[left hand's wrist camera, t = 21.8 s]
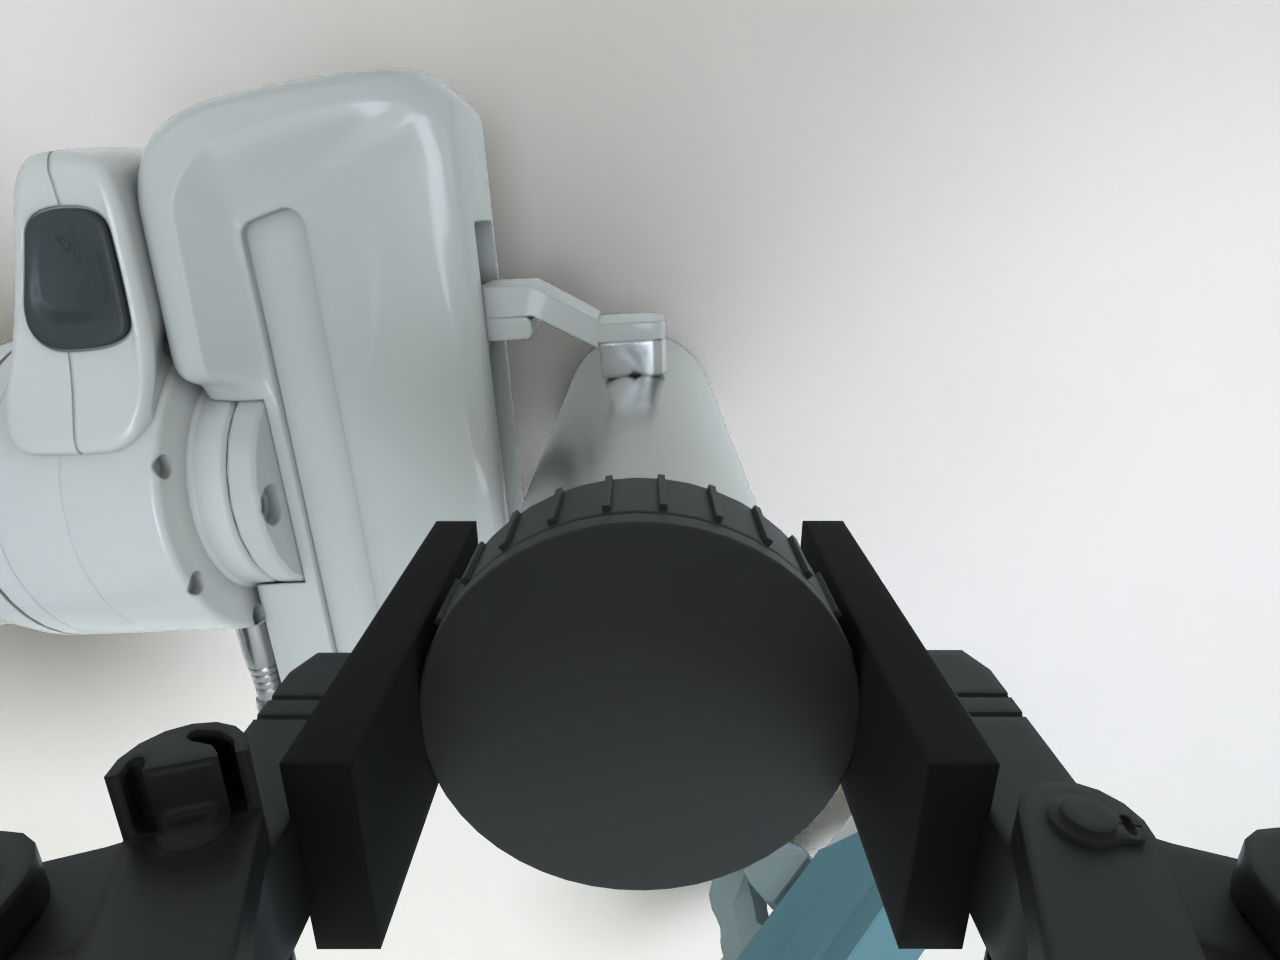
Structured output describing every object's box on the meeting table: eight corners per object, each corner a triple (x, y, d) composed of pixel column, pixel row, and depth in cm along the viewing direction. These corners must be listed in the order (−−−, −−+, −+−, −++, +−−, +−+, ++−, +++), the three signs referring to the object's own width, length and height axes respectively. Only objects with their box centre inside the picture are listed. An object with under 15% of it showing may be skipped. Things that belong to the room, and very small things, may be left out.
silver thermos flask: (585, 483, 29) (514, 846, 12) (553, 348, 27) (420, 563, 11) (721, 457, 28) (833, 796, 12) (698, 319, 27) (791, 495, 10)
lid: (420, 476, 11) (381, 522, 9) (850, 467, 11) (887, 512, 9) (463, 812, 13) (438, 897, 12) (823, 806, 13) (849, 891, 12)
